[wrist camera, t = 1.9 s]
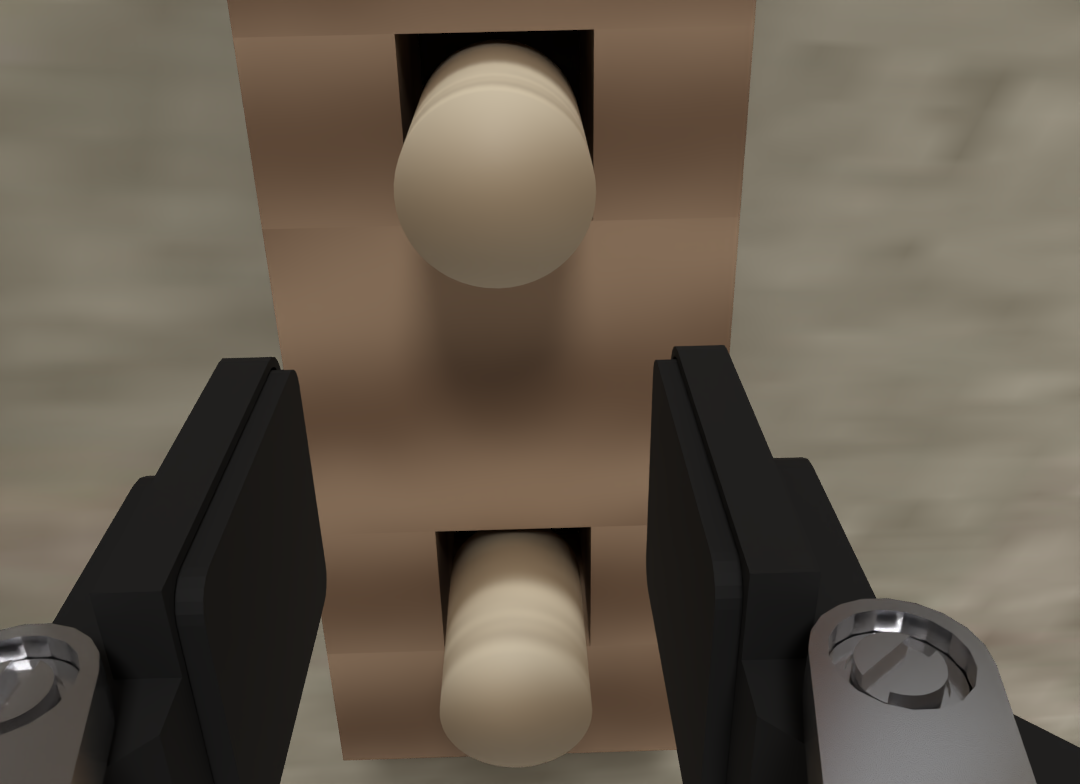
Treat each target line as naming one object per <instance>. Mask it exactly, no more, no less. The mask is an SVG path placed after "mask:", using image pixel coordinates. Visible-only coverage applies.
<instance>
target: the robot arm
mask: <svg viewBox="0 0 1080 784" xmlns="http://www.w3.org/2000/svg"><path fill="white" fill-rule="evenodd" d="M646 576H647V587H648V594H649V599H650V605H651V610H652V616H653V621H654V627H655V632H656V638H657V643H658V649H659V654H660V660H661V665H662V671H663V676H664V682H665V687H666V693H667V698H668V704H669V709H670V715H671V720H672V726H673V731H674V737H675V742H676V748H677V754H678V759H679V765H680V770H681V776H682V781H683V784H1080V748H1079V747H1077V746H1075V745H1073V744H1071V743H1069V742H1067V741H1065V740H1063V739H1061V738H1059V737H1057V736H1055V735H1053V734H1051V733H1049V732H1048V731H1046V730H1044V729H1042V728H1040V727H1038V726H1036V725H1034V724H1032V723H1030V722H1028V721H1026V720H1024V719H1022V718H1020V717H1018V716H1016V715H1014V714H1013V712H1012V709H1011V706H1010V703H1009V700H1008V697H1007V694H1006V691H1005V688H1004V685H1003V682H1002V680H1001V677H1000V674H999V671H998V668H997V665H996V663H995V661H994V660H993V658H992V656H991V654H990V652H989V651H988V649H987V647H986V645H985V644H984V643H982V642H981V641H980V640H979V639H978V638H977V637H976V636H975V635H974V634H973V633H972V632H971V631H970V630H969V629H968V628H967V627H965V626H963V625H962V624H960V623H958V622H957V621H955V620H953V619H952V618H950V617H948V616H947V615H945V614H943V613H941V612H938V611H936V610H933V609H930V608H928V607H925V606H922V605H919V604H917V603H912V602H906V601H900V600H895V599H889V598H883V599H876V597H875V595H874V593H873V591H872V589H871V587H870V584H869V582H868V580H867V578H866V576H865V574H864V572H863V570H862V568H861V566H860V564H859V562H858V559H857V557H856V555H855V553H854V551H853V549H852V547H851V545H850V543H849V541H848V539H847V537H846V535H845V532H844V530H843V528H842V526H841V524H840V522H839V520H838V518H837V516H836V514H835V512H834V510H833V508H832V505H831V503H830V501H829V499H828V497H827V495H826V493H825V491H824V489H823V487H822V485H821V483H820V480H819V478H818V476H817V474H816V472H815V470H814V468H813V466H812V465H811V463H810V462H809V460H808V459H806V458H803V457H799V458H773V457H772V454H771V452H770V449H769V447H768V445H767V442H766V440H765V438H764V435H763V433H762V431H761V428H760V426H759V423H758V421H757V419H756V416H755V414H754V412H753V409H752V407H751V405H750V402H749V400H748V398H747V395H746V393H745V390H744V388H743V386H742V383H741V381H740V379H739V376H738V374H737V372H736V369H735V367H734V364H733V362H732V360H731V357H730V355H729V353H728V350H727V348H726V347H725V345H702V346H674V347H673V350H672V355H671V359H665V360H655V362H654V367H653V385H652V411H651V438H650V464H649V491H648V517H647V544H646ZM326 588H327V573H326V563H325V556H324V549H323V543H322V536H321V529H320V522H319V515H318V508H317V501H316V495H315V488H314V481H313V474H312V467H311V460H310V454H309V447H308V440H307V433H306V426H305V419H304V412H303V406H302V399H301V392H300V385H299V380H298V376H297V373H296V371H295V370H281V369H280V366H279V363H278V361H277V359H276V358H275V357H259V358H222V360H221V361H220V362H219V363H218V365H217V367H216V369H215V370H214V372H213V374H212V376H211V378H210V379H209V381H208V383H207V385H206V386H205V388H204V390H203V392H202V393H201V395H200V397H199V399H198V401H197V402H196V404H195V406H194V408H193V409H192V411H191V413H190V415H189V417H188V418H187V420H186V422H185V424H184V425H183V427H182V429H181V431H180V433H179V434H178V436H177V438H176V440H175V441H174V443H173V445H172V447H171V449H170V450H169V452H168V454H167V456H166V457H165V459H164V461H163V463H162V465H161V466H160V468H159V470H158V472H157V473H156V475H155V476H145V477H142V478H139V480H138V481H137V482H136V483H135V484H134V486H133V487H132V489H131V490H130V492H129V494H128V495H127V497H126V499H125V501H124V502H123V504H122V506H121V507H120V509H119V511H118V512H117V514H116V516H115V518H114V519H113V521H112V523H111V524H110V526H109V528H108V529H107V531H106V533H105V535H104V536H103V538H102V540H101V541H100V543H99V545H98V546H97V548H96V550H95V552H94V553H93V555H92V557H91V558H90V560H89V562H88V563H87V565H86V567H85V569H84V570H83V572H82V574H81V575H80V577H79V579H78V580H77V582H76V584H75V586H74V587H73V589H72V591H71V592H70V594H69V596H68V597H67V599H66V601H65V603H64V604H63V606H62V608H61V609H60V611H59V613H58V614H57V616H56V618H55V620H54V621H53V623H47V624H24V625H20V626H15V627H11V628H7V629H2V630H0V784H280V781H281V777H282V773H283V769H284V765H285V761H286V757H287V752H288V748H289V744H290V740H291V736H292V732H293V728H294V724H295V720H296V716H297V712H298V708H299V704H300V700H301V696H302V692H303V688H304V684H305V680H306V675H307V671H308V667H309V663H310V659H311V655H312V651H313V647H314V643H315V639H316V635H317V631H318V627H319V623H320V619H321V615H322V611H323V607H324V602H325V597H326Z"/></svg>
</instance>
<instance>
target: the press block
mask: <svg viewBox="0 0 1080 784" xmlns="http://www.w3.org/2000/svg"><path fill="white" fill-rule="evenodd" d="M227 2H228V9H229V15H230V22H231V28H232V35H233V41H234V48H235V55H236V61H237V68H238V74H239V81H240V87H241V94H242V100H243V107H244V113H245V120H246V126H247V133H248V139H249V146H250V153H251V159H252V166H253V172H254V179H255V185H256V192H257V198H258V205H259V211H260V218H261V224H262V231H263V237H264V244H265V251H266V257H267V264H268V270H269V277H270V283H271V290H272V296H273V303H274V309H275V316H276V322H277V329H278V336H279V342H280V349H281V355H282V362H283V368H284V370H295V371H296V373H297V376H298V380H299V385H300V392H301V399H302V406H303V412H304V419H305V426H306V433H307V440H308V447H309V454H310V460H311V467H312V474H313V481H314V488H315V495H316V501H317V508H318V515H319V522H320V529H321V536H322V543H323V549H324V556H325V563H326V573H327V588H326V597H325V602H324V607H323V611H322V615H321V617H322V623H323V630H324V636H325V643H326V649H327V656H328V662H329V669H330V675H331V682H332V688H333V695H334V701H335V708H336V715H337V721H338V728H339V734H340V741H341V747H342V754H343V760H371V759H403V758H434V757H465V756H468V755H467V754H465V753H463V752H462V751H461V750H459V749H458V748H457V747H456V746H455V745H454V744H453V743H452V742H451V741H450V739H449V738H448V737H447V735H446V733H445V732H444V730H443V727H442V724H441V720H440V700H441V688H442V676H443V664H444V652H445V640H446V628H447V616H448V604H449V592H450V580H451V569H452V563H453V560H454V557H455V555H456V553H457V551H458V550H459V548H460V547H461V546H462V544H463V543H464V542H465V541H466V540H467V539H468V538H469V537H454V531H468V530H503V529H537V528H571V527H579V533H578V534H558V535H559V536H561V537H562V538H563V539H564V540H565V541H566V542H567V543H568V544H569V545H570V546H571V548H572V550H573V551H574V553H575V555H576V557H577V560H578V564H579V572H580V583H581V594H582V604H583V615H584V626H585V637H586V648H587V659H588V669H589V680H590V691H591V702H592V718H591V722H590V726H589V728H588V730H587V732H586V734H585V735H584V737H583V738H582V739H581V740H580V742H579V743H578V744H577V745H576V746H575V747H573V748H572V749H571V750H570V751H568V752H567V753H590V752H621V751H653V750H677V748H676V742H675V737H674V731H673V726H672V720H671V715H670V709H669V704H668V698H667V693H666V687H665V682H664V676H663V671H662V665H661V660H660V654H659V649H658V643H657V638H656V632H655V627H654V621H653V616H652V610H651V605H650V599H649V594H648V587H647V576H646V544H647V517H648V491H649V464H650V438H651V411H652V385H653V367H654V362H655V360H665V359H671V355H672V350H673V347H674V346H702V345H725V347H726V348H727V350H728V353H729V351H730V338H731V325H732V312H733V298H734V285H735V272H736V259H737V246H738V233H739V220H740V207H741V193H742V180H743V167H744V154H745V141H746V128H747V115H748V102H749V89H750V75H751V62H752V49H753V36H754V23H755V10H756V0H227ZM545 30H579V113H580V117H581V121H582V125H583V129H584V133H585V137H586V141H587V145H588V149H589V153H590V157H591V161H592V165H593V170H594V175H595V181H596V201H595V208H594V213H593V217H592V220H591V223H590V226H589V229H588V231H587V233H586V235H585V237H584V239H583V240H582V242H581V243H580V245H579V246H578V248H577V249H576V251H575V252H574V253H573V254H572V255H571V256H570V257H569V258H568V259H567V260H566V261H565V262H564V263H563V264H562V265H561V266H559V267H558V268H557V269H555V270H554V271H552V272H551V273H549V274H548V275H546V276H544V277H542V278H540V279H538V280H536V281H533V282H530V283H527V284H524V285H520V286H515V287H510V288H483V287H477V286H472V285H468V284H465V283H461V282H459V281H457V280H454V279H452V278H450V277H448V276H446V275H444V274H443V273H441V272H439V271H438V270H436V269H435V268H434V267H432V266H431V265H430V264H429V263H427V262H426V261H425V260H424V259H423V258H422V257H421V256H420V255H419V254H418V252H417V251H416V250H415V249H414V247H413V246H412V245H411V243H410V242H409V240H408V238H407V237H406V235H405V233H404V231H403V229H402V226H401V224H400V222H399V218H398V215H397V212H396V207H395V200H394V178H395V170H396V166H397V162H398V159H399V156H400V153H401V150H402V147H403V145H404V142H405V139H406V136H407V133H408V131H409V128H410V125H411V122H412V119H413V117H414V114H415V111H416V108H417V106H418V103H419V100H420V97H421V94H422V92H423V91H422V77H421V63H420V49H419V35H418V33H459V32H502V31H545Z"/></svg>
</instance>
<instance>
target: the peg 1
mask: <svg viewBox="0 0 1080 784" xmlns="http://www.w3.org/2000/svg"><path fill="white" fill-rule="evenodd" d="M394 200H395V207H396V212H397V215H398V218H399V222H400V224H401V226H402V229H403V231H404V233H405V235H406V237H407V238H408V240H409V242H410V243H411V245H412V246H413V247H414V249H415V250H416V251H417V252H418V254H419V255H420V256H421V257H422V258H423V259H424V260H425V261H426V262H427V263H429V264H430V265H431V266H432V267H434V268H435V269H436V270H438V271H439V272H441V273H443V274H444V275H446V276H448V277H450V278H452V279H454V280H457V281H459V282H461V283H465V284H468V285H472V286H477V287H483V288H510V287H515V286H520V285H524V284H527V283H530V282H533V281H536V280H538V279H540V278H542V277H544V276H546V275H548V274H549V273H551V272H552V271H554V270H555V269H557V268H558V267H559V266H561V265H562V264H563V263H564V262H565V261H566V260H567V259H568V258H569V257H570V256H571V255H572V254H573V253H574V252H575V251H576V249H577V248H578V246H579V245H580V243H581V242H582V240H583V239H584V237H585V235H586V233H587V231H588V229H589V226H590V223H591V220H592V217H593V213H594V208H595V201H596V181H595V175H594V170H593V165H592V161H591V157H590V153H589V149H588V145H587V141H586V137H585V133H584V129H583V125H582V121H581V117H580V113H579V109H578V105H577V101H576V98H575V95H574V92H573V89H572V87H571V85H570V83H569V81H568V79H567V78H566V76H565V75H564V73H563V72H562V71H561V70H560V68H559V67H558V66H557V65H556V64H555V63H554V62H553V61H552V60H551V59H549V58H548V57H547V56H546V55H544V54H543V53H541V52H540V51H538V50H536V49H534V48H532V47H530V46H528V45H525V44H522V43H519V42H515V41H510V40H498V39H494V40H484V41H480V42H475V43H472V44H470V45H467V46H464V47H462V48H461V49H459V50H457V51H455V52H453V53H452V54H451V55H449V56H448V57H447V58H445V59H444V60H443V61H442V62H441V63H440V64H439V65H438V66H437V68H436V69H435V70H434V72H433V73H432V74H431V76H430V77H429V79H428V81H427V83H426V85H425V87H424V89H423V92H422V94H421V97H420V100H419V103H418V106H417V108H416V111H415V114H414V117H413V119H412V122H411V125H410V128H409V131H408V133H407V136H406V139H405V142H404V145H403V147H402V150H401V153H400V156H399V159H398V162H397V166H396V170H395V178H394Z"/></svg>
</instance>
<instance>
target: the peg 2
mask: <svg viewBox="0 0 1080 784" xmlns="http://www.w3.org/2000/svg"><path fill="white" fill-rule="evenodd" d="M591 718H592V702H591V691H590V680H589V669H588V659H587V648H586V637H585V626H584V615H583V604H582V594H581V583H580V572H579V564H578V560H577V557H576V555H575V553H574V551H573V550H572V548H571V546H570V545H569V544H568V543H567V542H566V541H565V540H564V539H563V538H562V537H561V536H559V535H558V534H557V533H555V532H553V531H552V530H550V529H548V528H537V529H503V530H480V531H478V532H476V533H475V534H473V535H472V536H471V537H469V538H468V539H467V540H466V541H465V542H464V543H463V544H462V546H461V547H460V548H459V550H458V551H457V553H456V555H455V557H454V560H453V563H452V569H451V580H450V592H449V604H448V616H447V628H446V640H445V652H444V664H443V676H442V688H441V700H440V720H441V724H442V727H443V730H444V732H445V733H446V735H447V737H448V738H449V739H450V741H451V742H452V743H453V744H454V745H455V746H456V747H457V748H458V749H459V750H461V751H462V752H463V753H465V754H467V755H468V756H470V757H472V758H474V759H476V760H479V761H481V762H484V763H487V764H491V765H496V766H502V767H529V766H534V765H539V764H543V763H546V762H549V761H552V760H554V759H556V758H558V757H560V756H562V755H564V754H565V753H567V752H568V751H570V750H571V749H572V748H573V747H575V746H576V745H577V744H578V743H579V742H580V740H581V739H582V738H583V737H584V735H585V734H586V732H587V730H588V728H589V726H590V722H591Z"/></svg>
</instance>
